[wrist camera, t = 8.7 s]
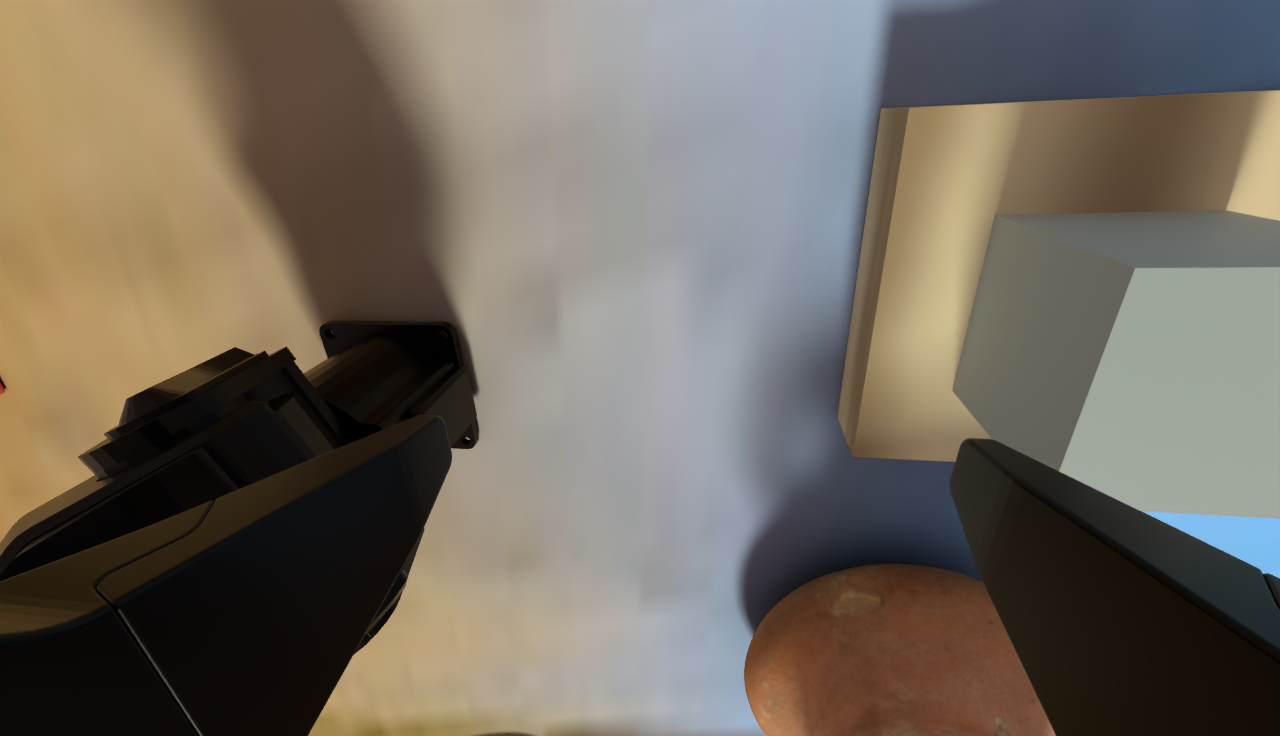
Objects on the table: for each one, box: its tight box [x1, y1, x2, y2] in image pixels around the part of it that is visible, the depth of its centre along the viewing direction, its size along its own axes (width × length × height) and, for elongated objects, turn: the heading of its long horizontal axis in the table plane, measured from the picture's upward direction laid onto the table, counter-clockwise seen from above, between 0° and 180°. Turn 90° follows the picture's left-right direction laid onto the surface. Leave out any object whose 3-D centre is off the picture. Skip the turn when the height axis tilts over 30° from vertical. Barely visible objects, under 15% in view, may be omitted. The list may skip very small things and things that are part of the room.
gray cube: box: [952, 210, 1280, 518], centre depth 14 cm, size 6×6×6 cm
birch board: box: [837, 90, 1280, 462], centre depth 18 cm, size 12×12×3 cm
